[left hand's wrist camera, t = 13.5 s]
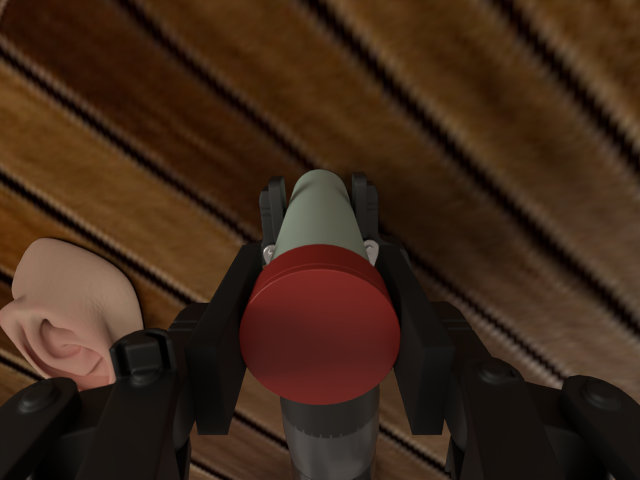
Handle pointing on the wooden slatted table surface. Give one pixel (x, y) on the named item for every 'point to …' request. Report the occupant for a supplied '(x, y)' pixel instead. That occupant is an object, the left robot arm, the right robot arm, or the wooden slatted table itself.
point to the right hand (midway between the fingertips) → (317, 177)
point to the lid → (319, 326)
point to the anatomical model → (69, 312)
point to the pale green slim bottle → (320, 216)
